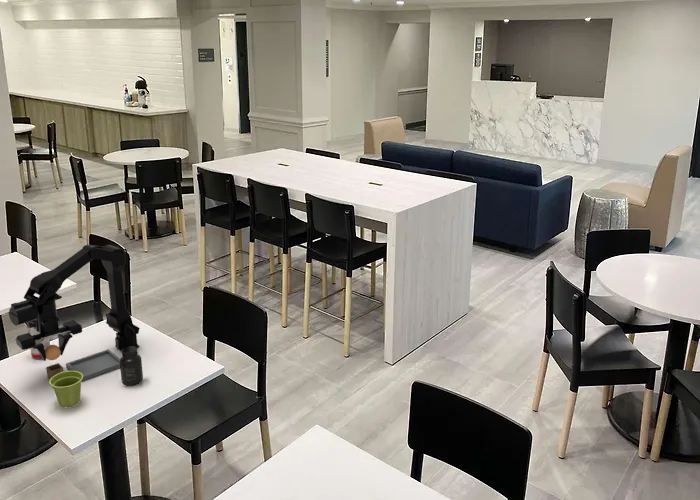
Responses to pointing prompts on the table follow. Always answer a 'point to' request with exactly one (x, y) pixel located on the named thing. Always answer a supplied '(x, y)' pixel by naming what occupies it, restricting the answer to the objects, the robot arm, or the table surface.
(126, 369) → the supplement bottle
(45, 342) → the beer can
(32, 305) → the robot arm
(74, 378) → the plant pot
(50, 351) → the ball
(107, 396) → the table surface
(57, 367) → the brown wooden open cube
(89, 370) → the tray
